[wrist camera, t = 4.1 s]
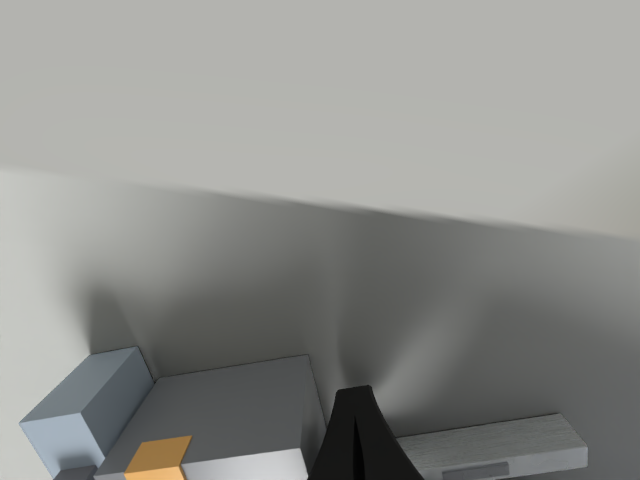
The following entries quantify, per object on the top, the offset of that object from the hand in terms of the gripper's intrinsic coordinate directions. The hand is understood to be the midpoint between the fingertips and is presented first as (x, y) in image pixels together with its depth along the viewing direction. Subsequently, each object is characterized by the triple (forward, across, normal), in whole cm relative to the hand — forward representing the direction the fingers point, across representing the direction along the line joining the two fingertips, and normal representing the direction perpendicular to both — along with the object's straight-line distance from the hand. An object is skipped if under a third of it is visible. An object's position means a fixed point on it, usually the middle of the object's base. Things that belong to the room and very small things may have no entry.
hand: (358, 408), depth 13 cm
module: (+1, +4, 0) cm, 5 cm away
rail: (+1, +1, +3) cm, 4 cm away
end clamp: (+1, +9, 0) cm, 9 cm away
